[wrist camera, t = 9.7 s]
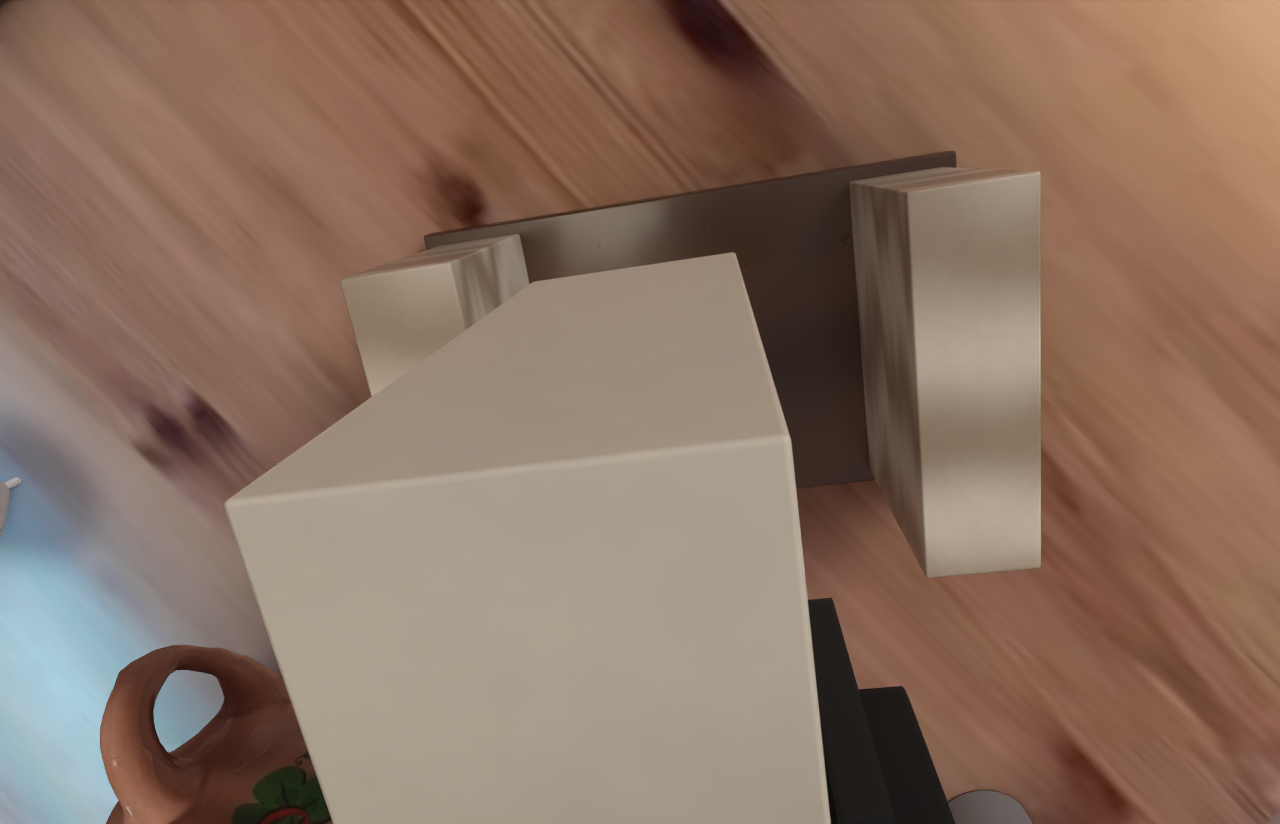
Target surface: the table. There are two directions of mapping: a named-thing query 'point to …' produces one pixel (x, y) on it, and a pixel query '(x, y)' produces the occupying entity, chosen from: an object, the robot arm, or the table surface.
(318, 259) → the table surface
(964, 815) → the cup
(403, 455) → the cream rectangular block
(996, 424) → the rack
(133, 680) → the decorative planter
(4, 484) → the spinning top
